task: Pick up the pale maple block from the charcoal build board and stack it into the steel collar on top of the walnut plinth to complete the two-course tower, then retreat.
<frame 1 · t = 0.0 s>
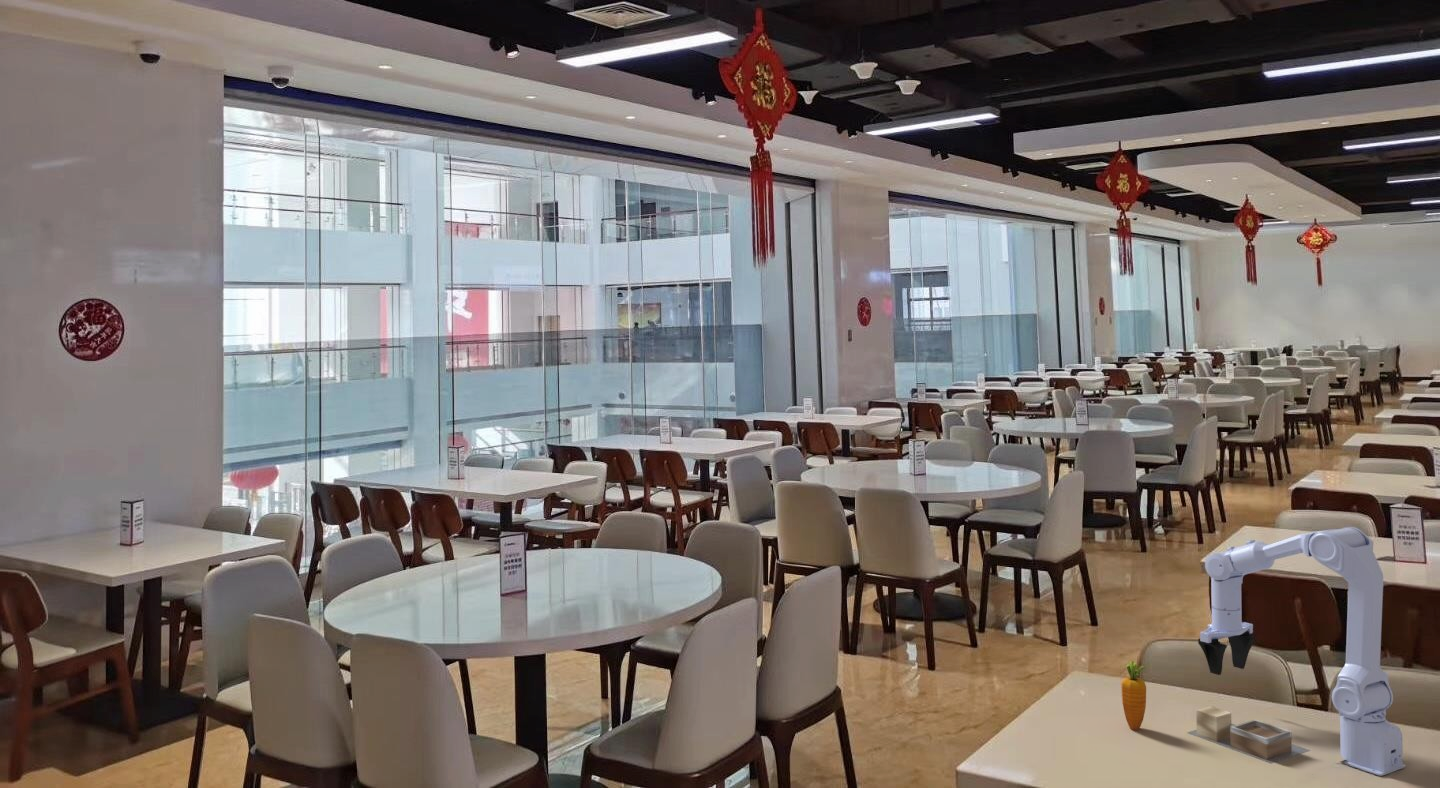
hand: (1227, 670, 212), 10 cm above the table, fingers open, 7 cm apart
maple block: (1214, 736, 200), point 1 cm above the table, touching build board
build board: (1246, 746, 197), on the table
walnut plinth: (1260, 754, 192), resting on build board
carrot: (1134, 734, 205), on the table
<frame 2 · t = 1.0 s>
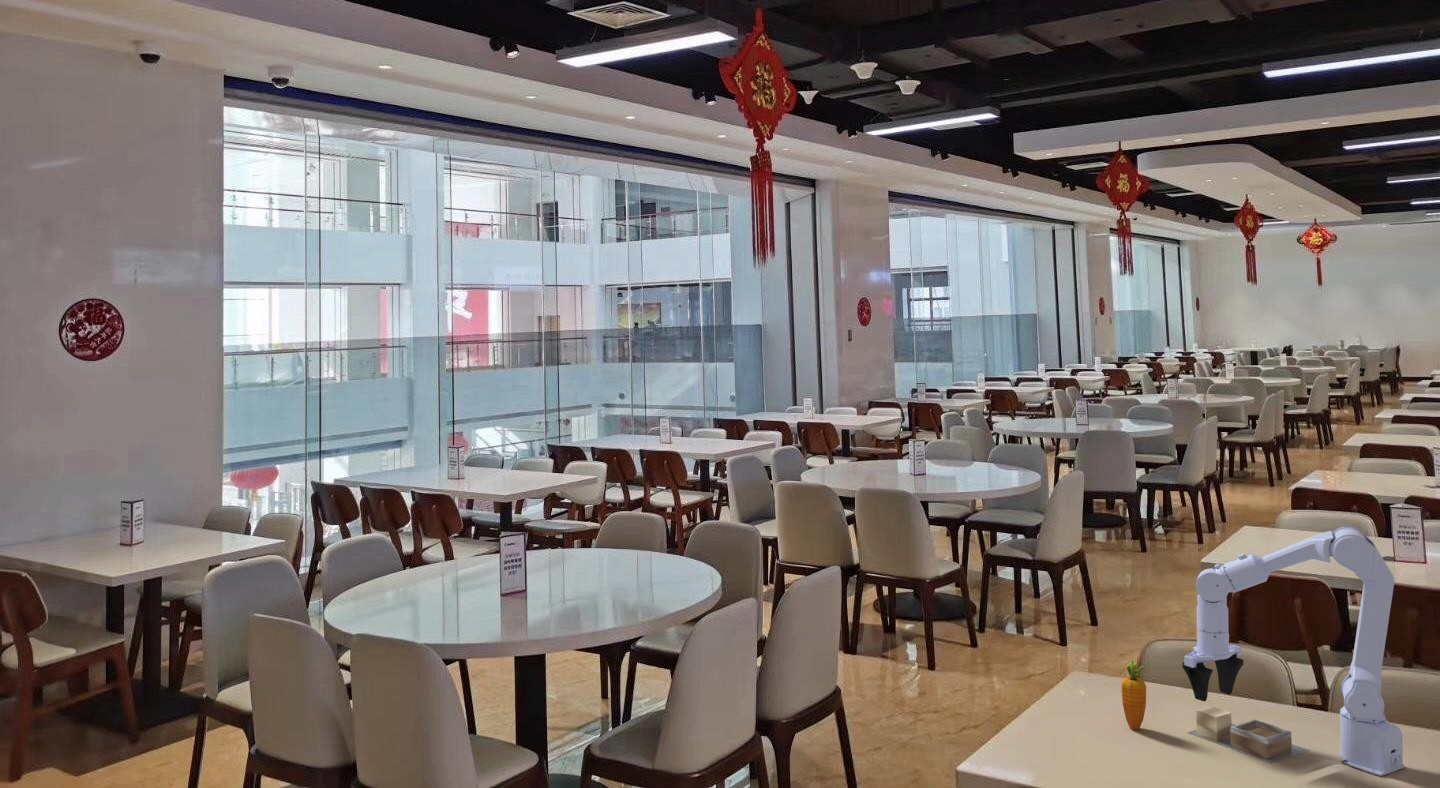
hand: (1213, 696, 199), 9 cm above the table, fingers open, 7 cm apart
nothing on the table moved.
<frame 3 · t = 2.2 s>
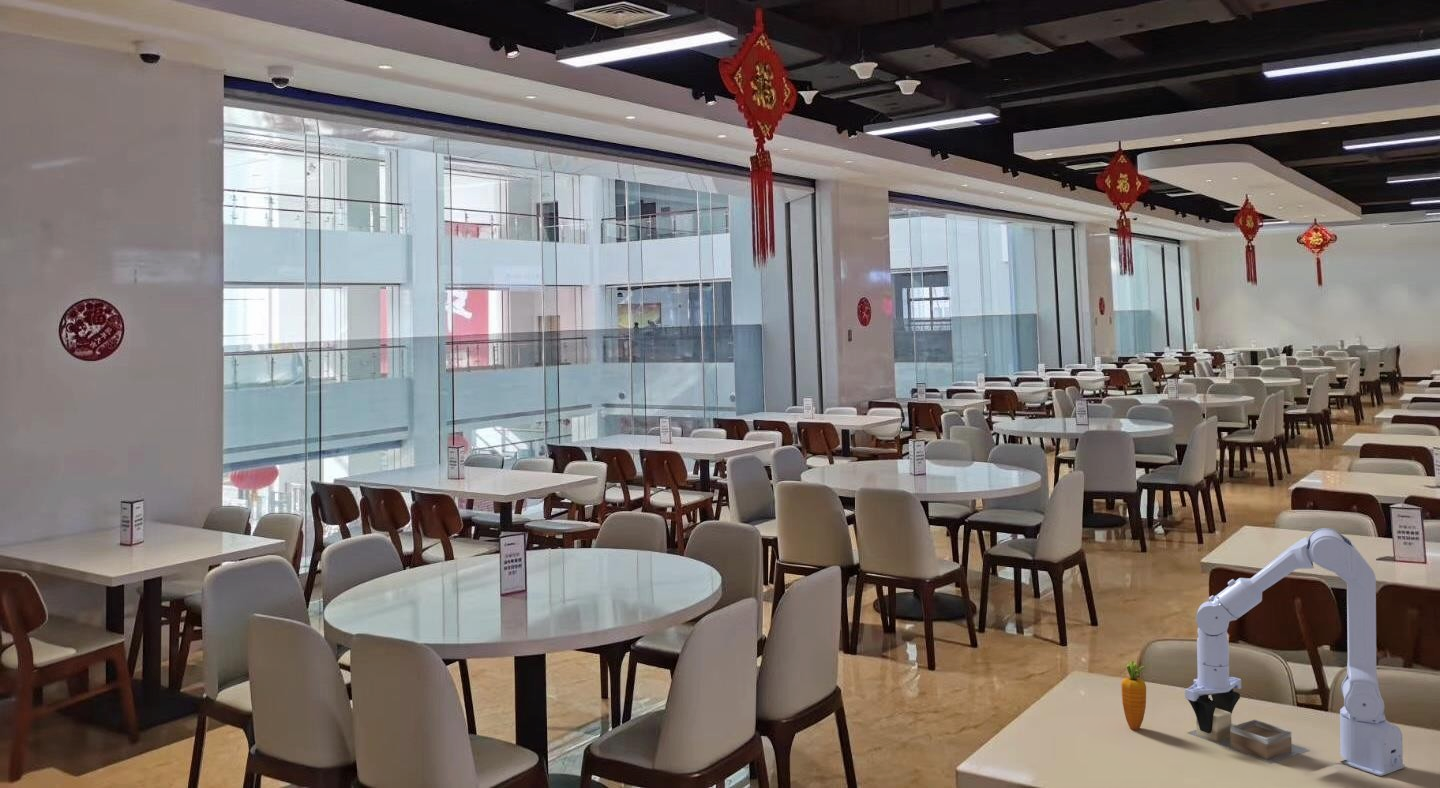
hand: (1214, 729, 200), 2 cm above the table, fingers closed on maple block, 4 cm apart
maple block: (1214, 736, 200), point 1 cm above the table, touching build board, gripper
everything else where it was.
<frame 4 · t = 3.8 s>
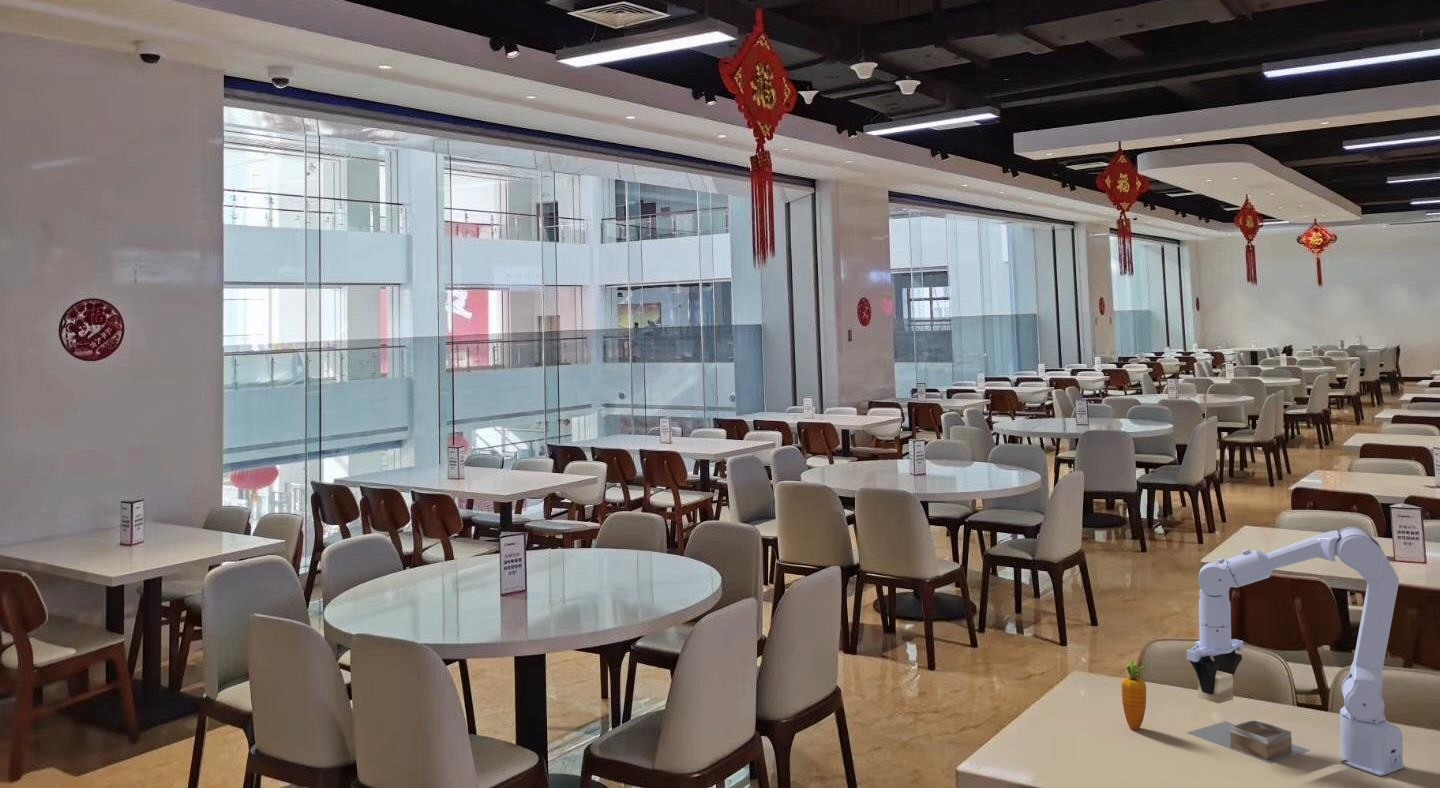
hand: (1216, 690, 199), 10 cm above the table, fingers closed on maple block, 4 cm apart
maple block: (1215, 698, 199), point 9 cm above the table, touching gripper
everything else where it was.
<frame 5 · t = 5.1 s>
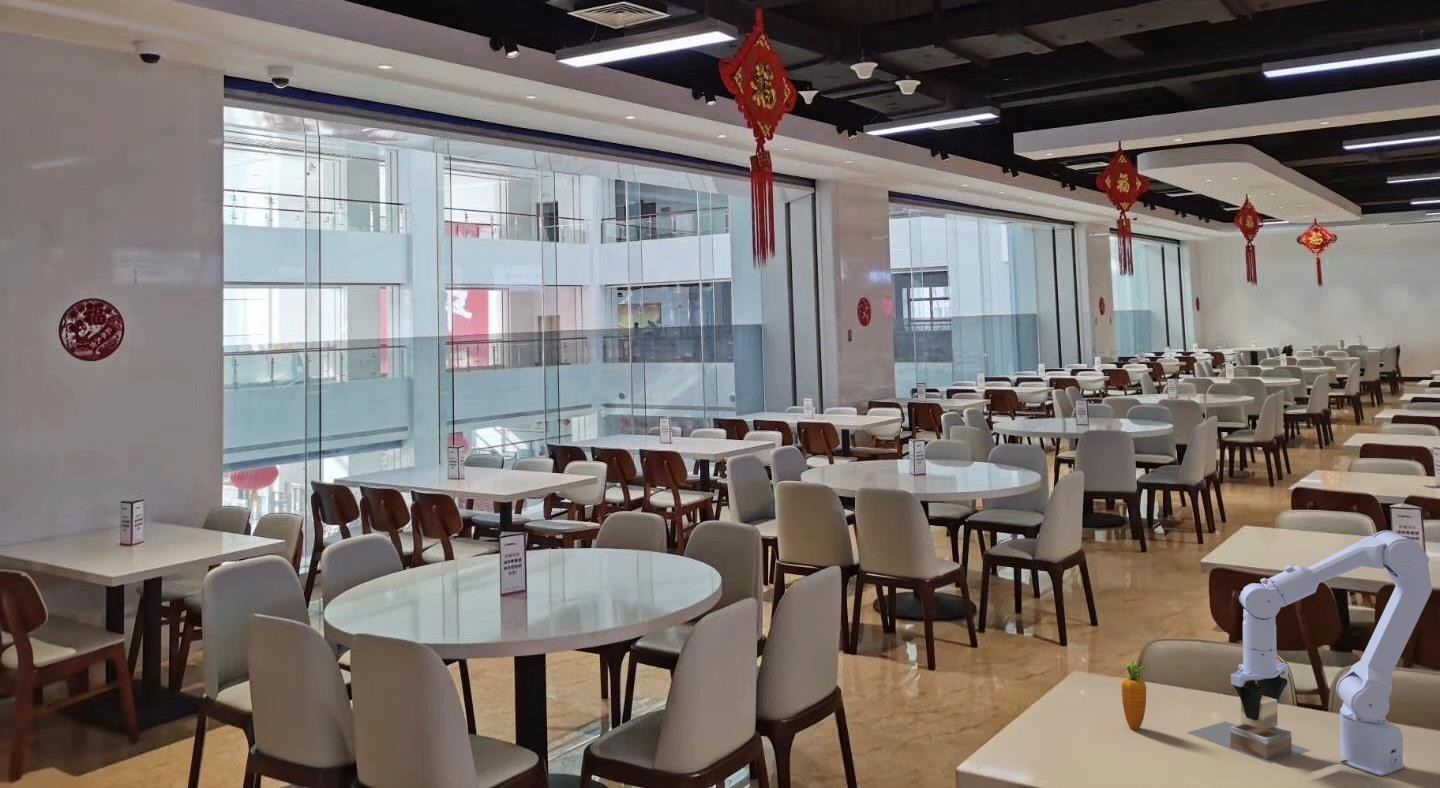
hand: (1260, 716, 192), 8 cm above the table, fingers closed on maple block, 4 cm apart
maple block: (1259, 723, 192), point 6 cm above the table, touching gripper
everything else where it was.
when the fingers open (7 cm above the table, at t = 5.7 s): maple block drops 1 cm, resting on walnut plinth.
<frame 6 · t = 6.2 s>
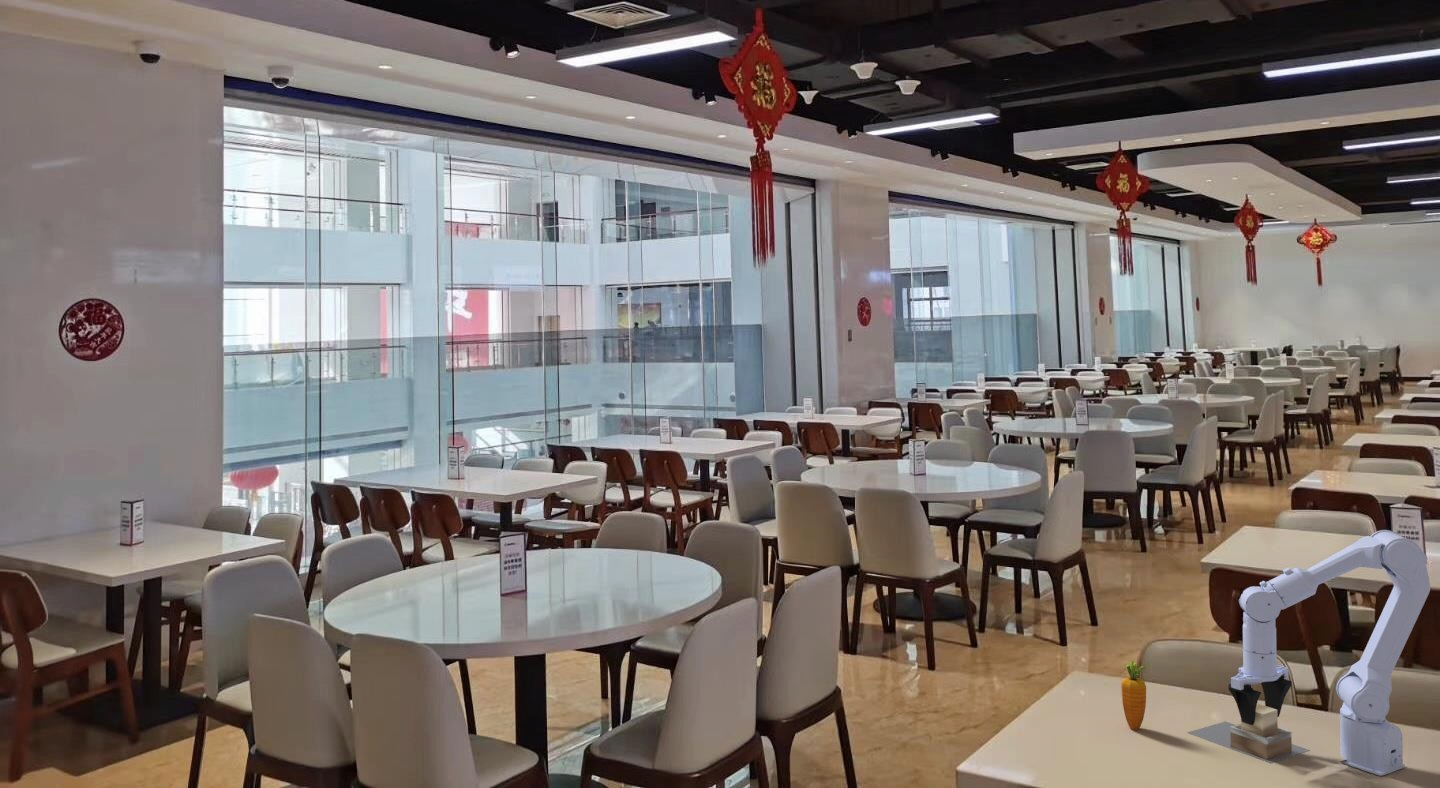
hand: (1260, 719, 192), 7 cm above the table, fingers open, 7 cm apart
maple block: (1259, 733, 192), point 4 cm above the table, touching walnut plinth
everything else where it was.
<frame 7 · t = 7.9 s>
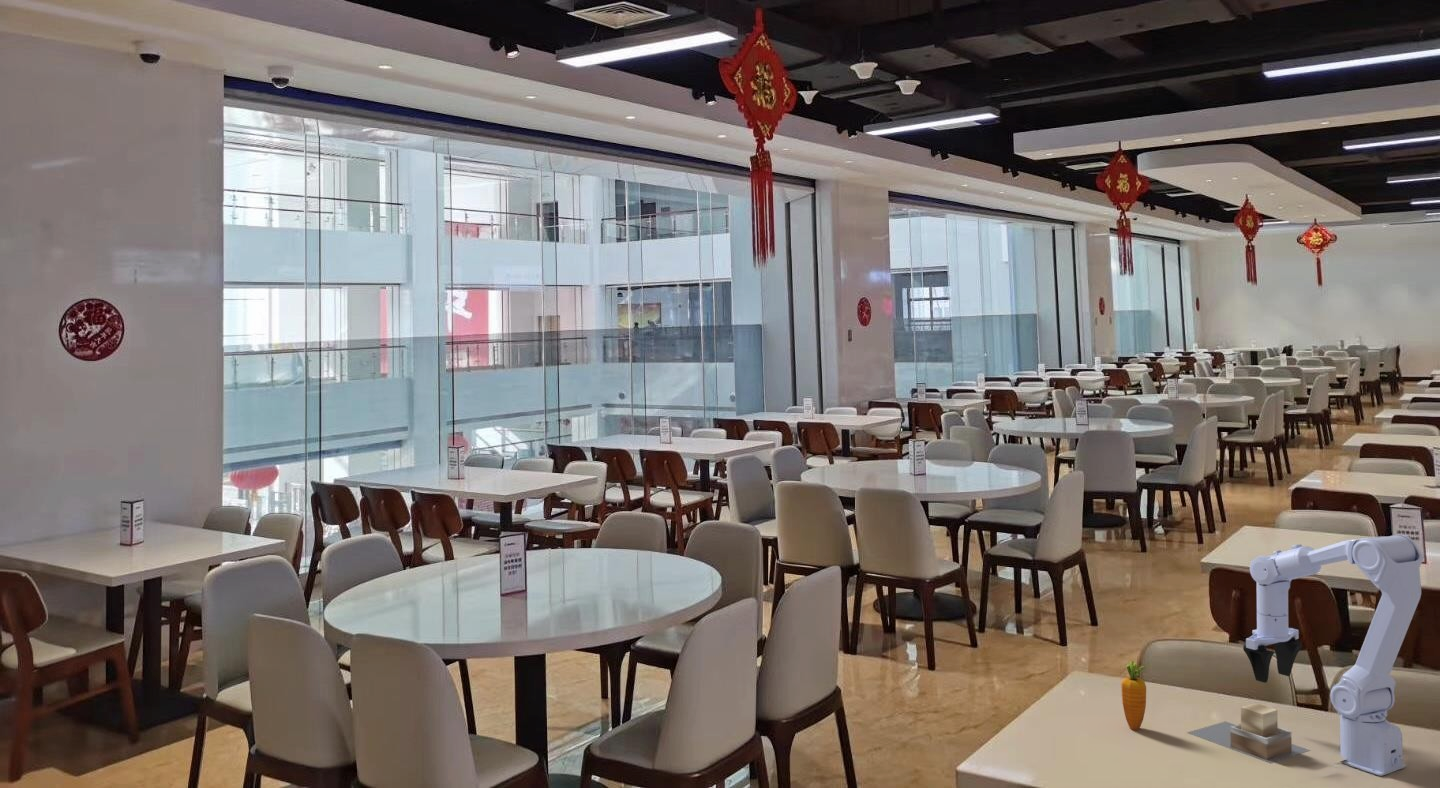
hand: (1272, 678, 205), 10 cm above the table, fingers open, 7 cm apart
nothing on the table moved.
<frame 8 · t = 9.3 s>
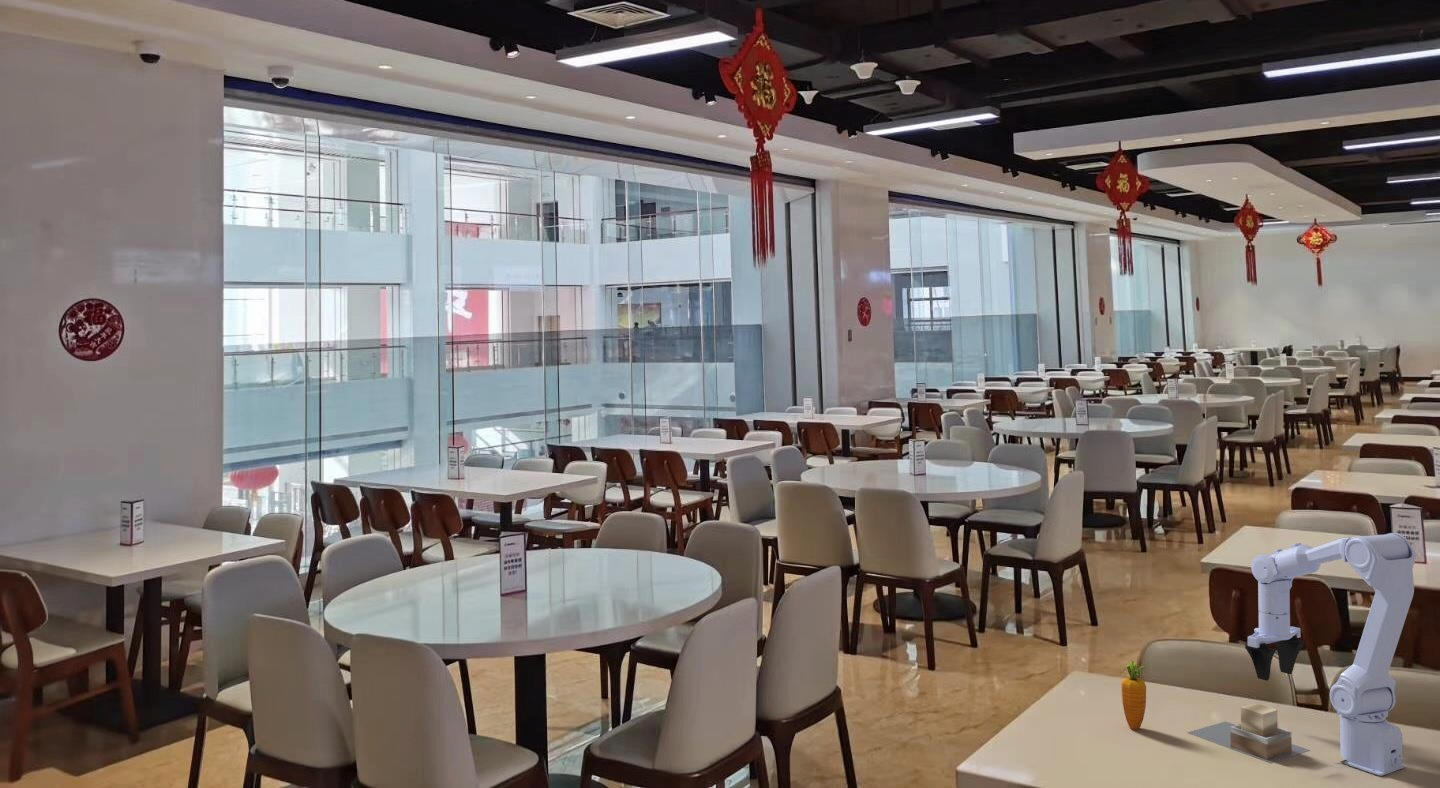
hand: (1274, 676, 207), 10 cm above the table, fingers open, 7 cm apart
nothing on the table moved.
at the end: maple block 0.2 cm off-centre on the walnut plinth, point 4.0 cm above the walnut plinth's base; maple block tilted 0°; the gripper is holding nothing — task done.
